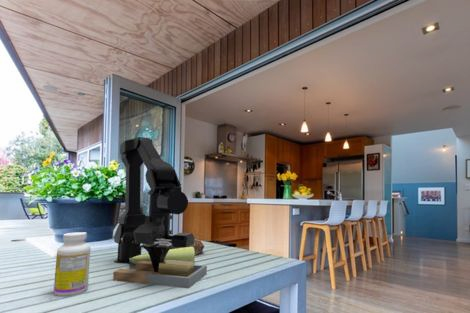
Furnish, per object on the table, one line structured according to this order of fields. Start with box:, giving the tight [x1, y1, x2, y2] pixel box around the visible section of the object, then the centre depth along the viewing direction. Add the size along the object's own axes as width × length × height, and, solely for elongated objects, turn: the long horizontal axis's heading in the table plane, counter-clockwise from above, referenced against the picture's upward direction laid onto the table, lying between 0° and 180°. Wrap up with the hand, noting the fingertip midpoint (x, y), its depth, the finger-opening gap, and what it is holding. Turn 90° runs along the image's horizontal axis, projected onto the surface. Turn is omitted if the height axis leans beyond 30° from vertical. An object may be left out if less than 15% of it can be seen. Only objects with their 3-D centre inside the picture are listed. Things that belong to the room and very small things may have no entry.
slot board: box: [112, 261, 159, 285], centre depth 75 cm, size 10×12×2 cm
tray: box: [146, 264, 208, 289], centre depth 72 cm, size 11×12×2 cm
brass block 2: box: [173, 261, 195, 277], centre depth 72 cm, size 4×4×4 cm
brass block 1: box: [159, 260, 178, 275], centre depth 73 cm, size 4×4×4 cm
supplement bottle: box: [53, 231, 91, 297], centre depth 63 cm, size 7×7×13 cm
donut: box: [169, 238, 205, 256], centre depth 104 cm, size 14×14×5 cm
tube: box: [129, 247, 196, 264], centre depth 87 cm, size 6×5×20 cm
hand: (156, 271), depth 74 cm, fingers closed
